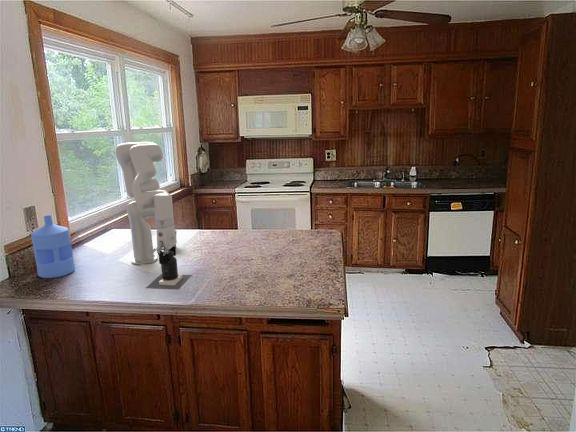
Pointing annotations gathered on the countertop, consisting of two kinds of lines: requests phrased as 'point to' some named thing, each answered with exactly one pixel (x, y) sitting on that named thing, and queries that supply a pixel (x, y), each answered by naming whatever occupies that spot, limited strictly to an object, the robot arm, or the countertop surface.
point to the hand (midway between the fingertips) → (167, 259)
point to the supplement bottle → (169, 267)
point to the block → (171, 281)
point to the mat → (156, 285)
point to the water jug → (52, 250)
